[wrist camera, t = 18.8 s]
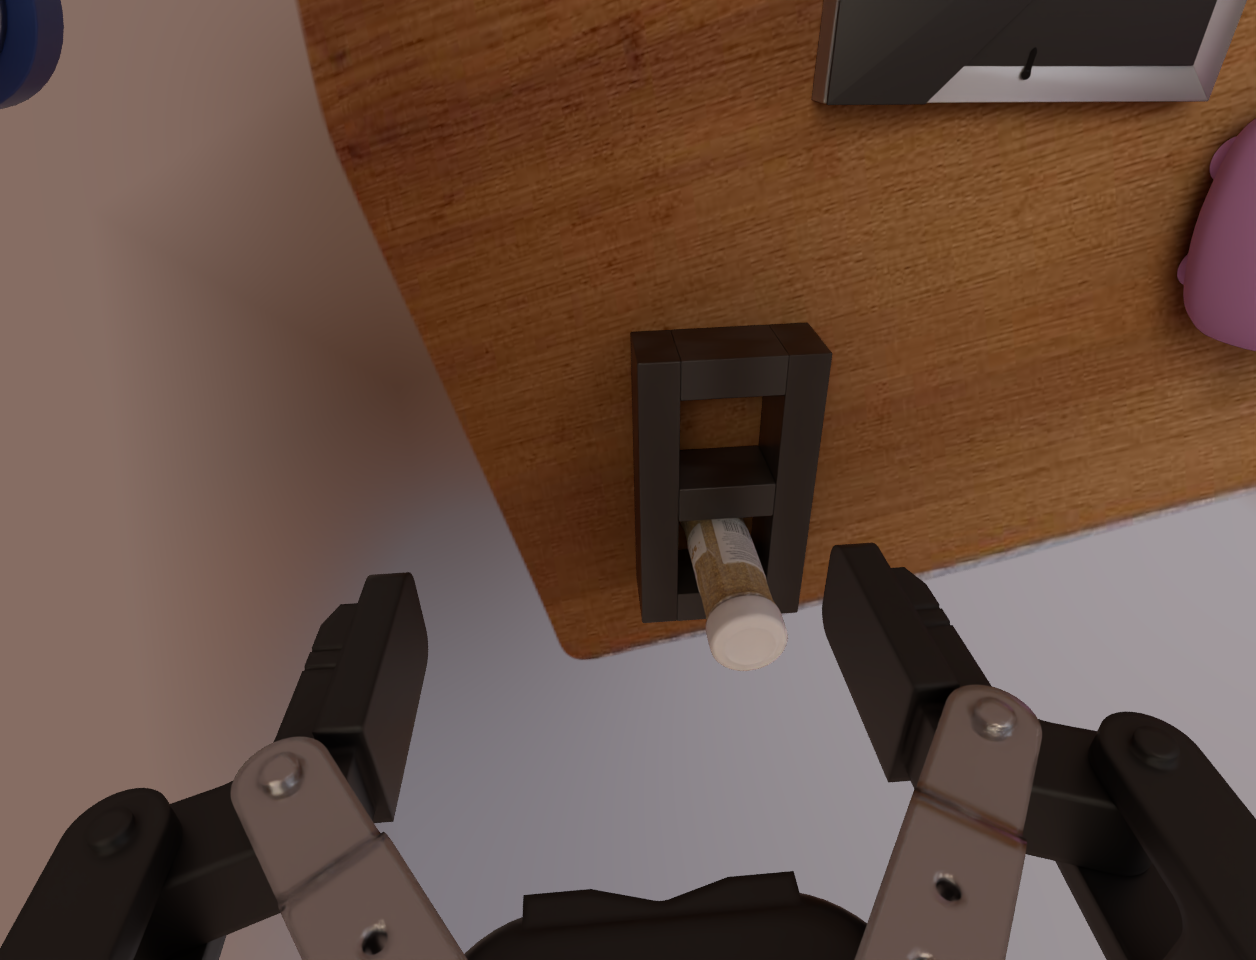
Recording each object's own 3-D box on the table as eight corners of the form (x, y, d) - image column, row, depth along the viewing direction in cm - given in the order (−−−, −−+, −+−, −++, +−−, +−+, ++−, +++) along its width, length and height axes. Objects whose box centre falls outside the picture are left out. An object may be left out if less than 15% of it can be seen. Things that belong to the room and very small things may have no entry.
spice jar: (666, 511, 52) (694, 646, 41) (716, 474, 51) (759, 603, 40) (704, 547, 54) (741, 685, 43) (753, 513, 53) (804, 646, 42)
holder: (636, 577, 56) (642, 623, 51) (630, 331, 45) (637, 363, 41) (780, 568, 56) (797, 612, 52) (807, 322, 45) (832, 353, 41)
